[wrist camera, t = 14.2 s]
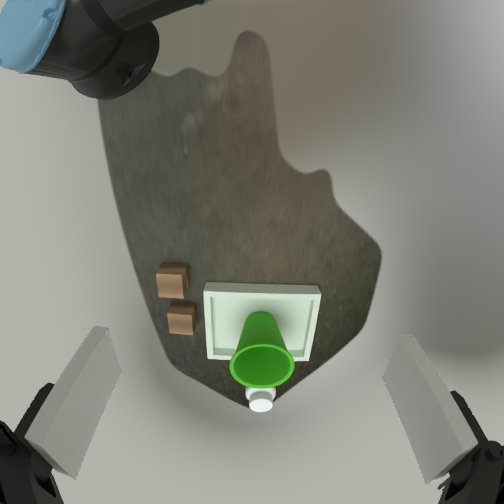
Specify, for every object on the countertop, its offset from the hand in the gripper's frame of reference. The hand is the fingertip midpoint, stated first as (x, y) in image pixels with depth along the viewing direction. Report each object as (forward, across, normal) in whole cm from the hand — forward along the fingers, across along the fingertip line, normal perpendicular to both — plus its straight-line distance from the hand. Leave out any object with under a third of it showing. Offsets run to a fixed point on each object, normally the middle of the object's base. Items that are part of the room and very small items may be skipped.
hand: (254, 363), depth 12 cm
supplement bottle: (+32, +3, -32) cm, 45 cm away
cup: (+31, +2, -20) cm, 37 cm away
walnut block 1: (+32, -12, -12) cm, 36 cm away
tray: (+32, +2, -20) cm, 38 cm away
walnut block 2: (+32, -11, -19) cm, 39 cm away
